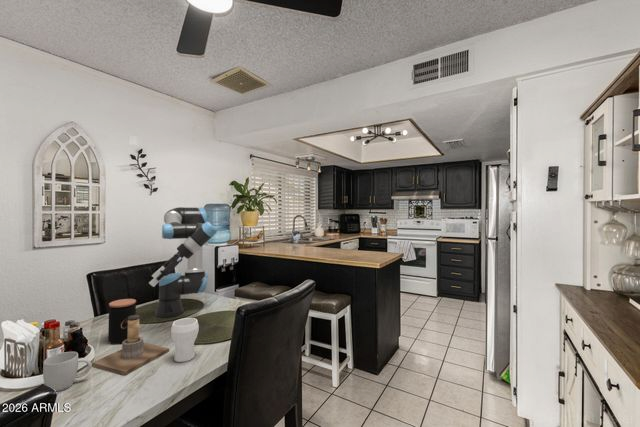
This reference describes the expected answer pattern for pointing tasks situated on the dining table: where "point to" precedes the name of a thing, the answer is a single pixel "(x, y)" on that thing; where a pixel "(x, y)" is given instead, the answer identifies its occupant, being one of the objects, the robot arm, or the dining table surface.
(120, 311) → the coffee jar
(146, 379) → the dining table surface
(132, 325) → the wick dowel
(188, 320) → the cup
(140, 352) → the base
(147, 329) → the dining table surface
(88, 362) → the mug
